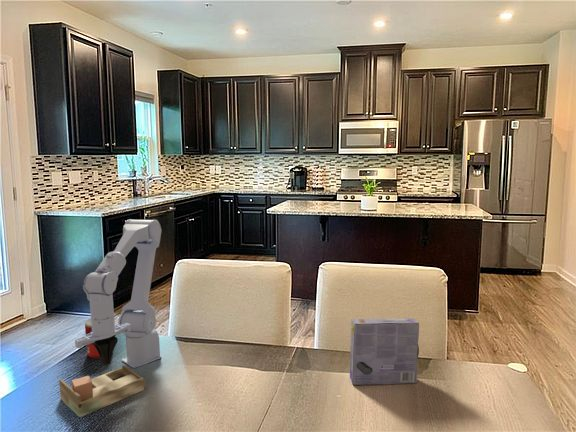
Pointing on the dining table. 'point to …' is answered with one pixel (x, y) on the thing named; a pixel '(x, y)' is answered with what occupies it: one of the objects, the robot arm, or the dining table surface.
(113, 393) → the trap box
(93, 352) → the canned food
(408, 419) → the dining table surface
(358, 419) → the dining table surface
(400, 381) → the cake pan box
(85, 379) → the block
